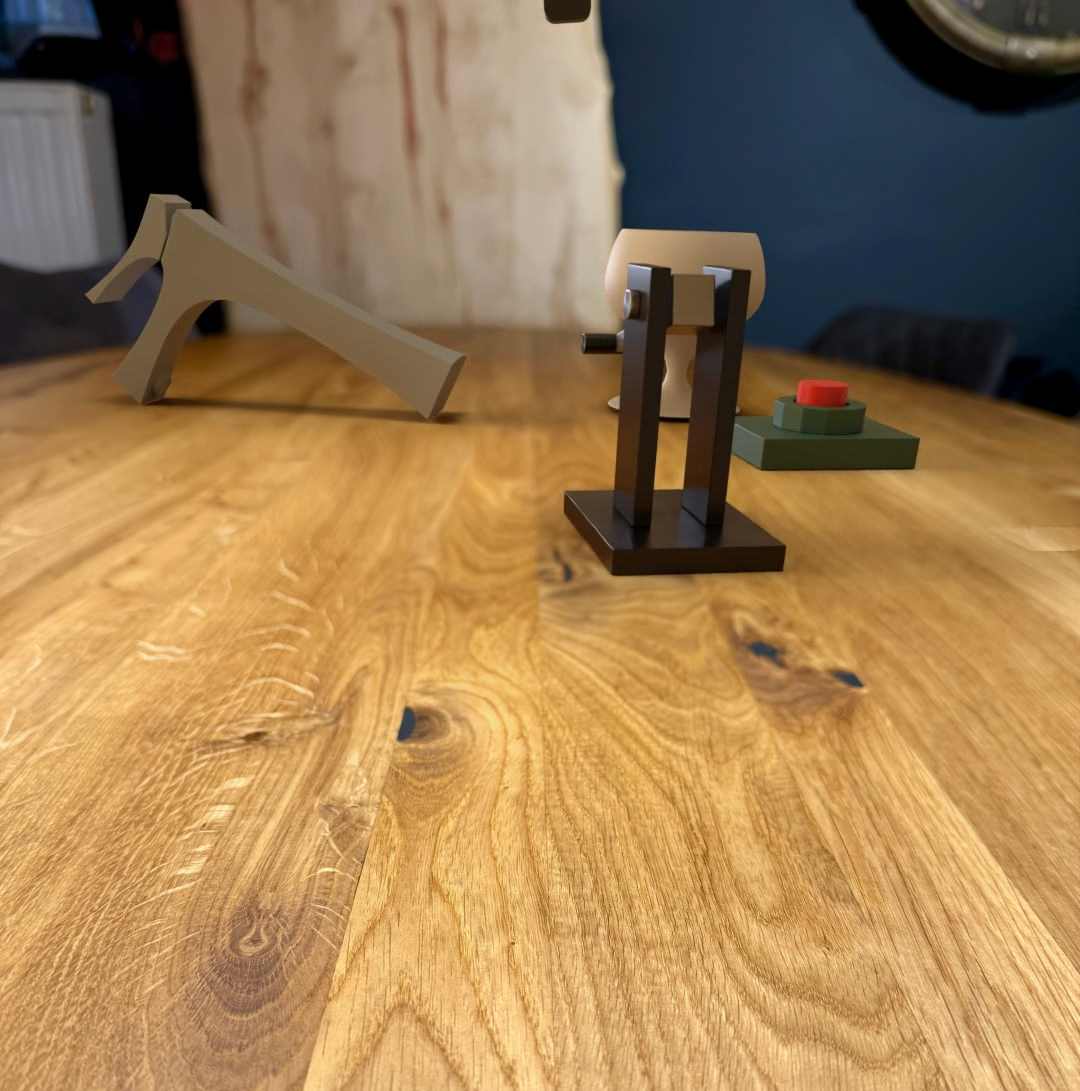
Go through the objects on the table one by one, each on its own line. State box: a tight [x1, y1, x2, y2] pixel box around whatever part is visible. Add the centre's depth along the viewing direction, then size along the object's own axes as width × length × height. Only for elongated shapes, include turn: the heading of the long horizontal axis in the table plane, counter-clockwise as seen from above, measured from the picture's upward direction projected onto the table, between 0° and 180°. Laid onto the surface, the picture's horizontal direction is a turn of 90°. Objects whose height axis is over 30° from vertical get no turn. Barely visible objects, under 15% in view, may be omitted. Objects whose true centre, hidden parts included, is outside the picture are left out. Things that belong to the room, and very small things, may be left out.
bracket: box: [563, 263, 787, 576], centre depth 54 cm, size 12×9×14 cm
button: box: [796, 379, 850, 407], centre depth 77 cm, size 4×4×2 cm
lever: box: [580, 274, 715, 356], centre depth 57 cm, size 14×5×2 cm, turn 10°
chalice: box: [604, 228, 766, 419], centre depth 92 cm, size 14×14×15 cm
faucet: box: [84, 193, 468, 420], centre depth 88 cm, size 6×17×30 cm
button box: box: [731, 394, 921, 471], centre depth 78 cm, size 12×9×4 cm
